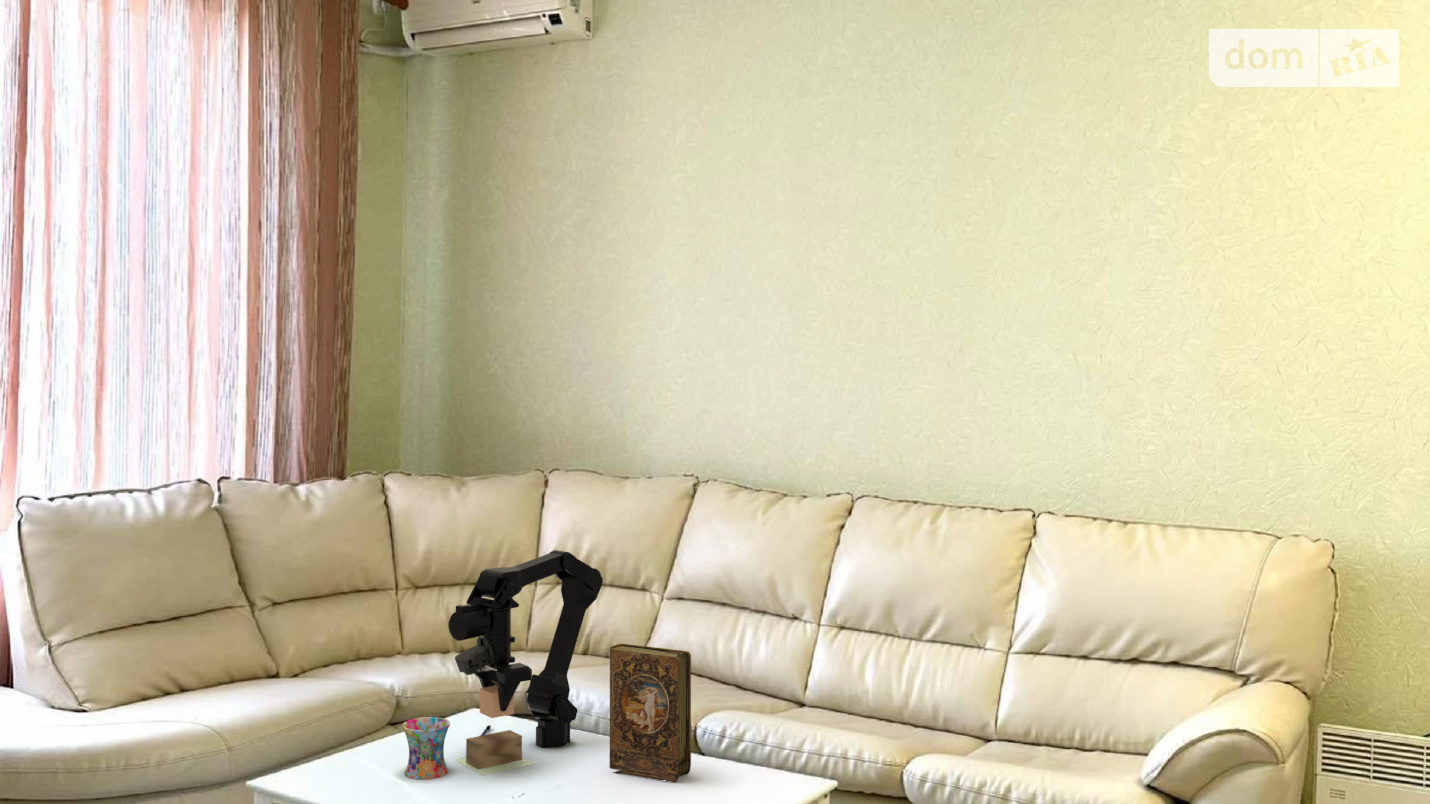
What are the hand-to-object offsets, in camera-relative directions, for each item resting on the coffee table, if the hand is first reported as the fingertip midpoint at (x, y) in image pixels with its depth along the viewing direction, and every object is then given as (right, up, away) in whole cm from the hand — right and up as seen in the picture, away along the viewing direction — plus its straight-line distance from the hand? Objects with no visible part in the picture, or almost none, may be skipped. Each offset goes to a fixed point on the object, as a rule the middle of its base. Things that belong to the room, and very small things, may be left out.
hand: (496, 708), depth 268 cm
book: (+31, -13, -3) cm, 33 cm away
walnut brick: (-1, -11, +1) cm, 11 cm away
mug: (-13, -12, -4) cm, 18 cm away
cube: (0, -1, 0) cm, 1 cm away
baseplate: (-1, -12, +1) cm, 12 cm away
